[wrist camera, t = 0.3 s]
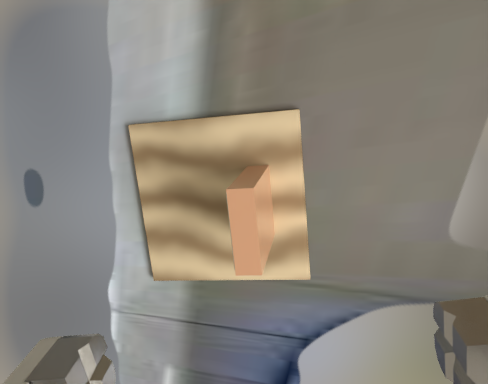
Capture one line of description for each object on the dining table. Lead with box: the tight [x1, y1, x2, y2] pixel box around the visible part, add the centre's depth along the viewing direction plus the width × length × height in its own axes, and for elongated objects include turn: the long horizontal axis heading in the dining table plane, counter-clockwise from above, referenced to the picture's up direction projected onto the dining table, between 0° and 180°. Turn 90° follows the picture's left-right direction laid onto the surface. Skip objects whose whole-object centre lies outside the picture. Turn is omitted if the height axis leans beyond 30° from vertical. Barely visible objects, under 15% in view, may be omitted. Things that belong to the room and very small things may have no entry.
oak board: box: [128, 109, 310, 281], centre depth 58 cm, size 24×24×1 cm
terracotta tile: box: [226, 165, 275, 276], centre depth 50 cm, size 10×3×13 cm, turn 6°
